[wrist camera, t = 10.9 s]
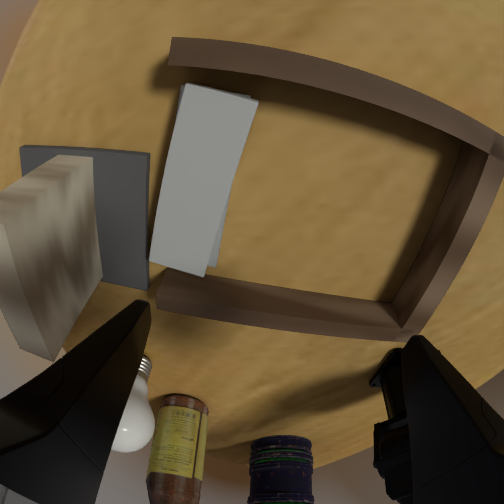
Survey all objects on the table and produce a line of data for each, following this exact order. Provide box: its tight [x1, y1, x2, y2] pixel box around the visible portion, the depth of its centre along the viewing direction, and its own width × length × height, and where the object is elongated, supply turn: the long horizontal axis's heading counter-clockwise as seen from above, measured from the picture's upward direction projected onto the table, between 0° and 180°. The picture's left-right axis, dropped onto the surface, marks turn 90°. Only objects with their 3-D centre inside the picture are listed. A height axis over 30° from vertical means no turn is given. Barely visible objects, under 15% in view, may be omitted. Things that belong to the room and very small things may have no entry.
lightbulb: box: [111, 356, 155, 452], centre depth 25 cm, size 6×6×11 cm
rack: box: [156, 37, 504, 342], centre depth 18 cm, size 18×20×3 cm
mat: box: [20, 145, 150, 291], centre depth 21 cm, size 11×11×1 cm
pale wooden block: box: [0, 155, 103, 362], centre depth 17 cm, size 10×3×9 cm, turn 170°
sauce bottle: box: [146, 395, 209, 504], centre depth 27 cm, size 7×6×20 cm
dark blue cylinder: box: [247, 435, 314, 504], centre depth 36 cm, size 10×10×15 cm
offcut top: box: [149, 82, 259, 277], centre depth 18 cm, size 12×4×1 cm, turn 162°
